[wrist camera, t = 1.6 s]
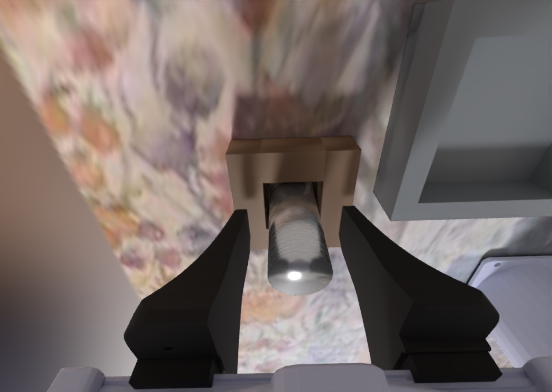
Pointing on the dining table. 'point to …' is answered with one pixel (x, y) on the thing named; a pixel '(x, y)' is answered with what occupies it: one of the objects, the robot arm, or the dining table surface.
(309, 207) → the pin
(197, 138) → the dining table surface
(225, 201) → the dining table surface
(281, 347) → the dining table surface
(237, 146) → the frame
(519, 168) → the tray
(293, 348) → the dining table surface
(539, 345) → the robot arm
